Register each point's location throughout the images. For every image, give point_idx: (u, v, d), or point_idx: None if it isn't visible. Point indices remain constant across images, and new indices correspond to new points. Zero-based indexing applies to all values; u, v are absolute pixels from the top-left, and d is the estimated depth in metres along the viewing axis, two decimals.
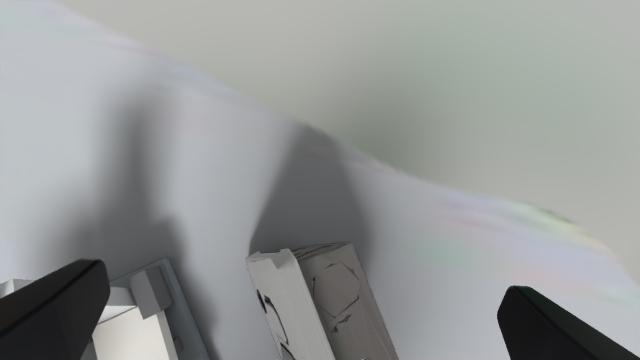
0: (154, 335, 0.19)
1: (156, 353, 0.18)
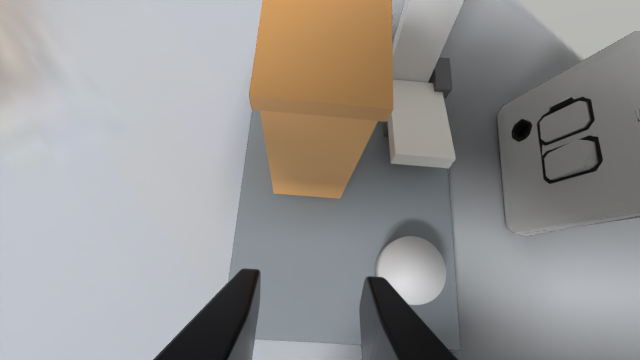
0: (438, 103, 0.22)
1: (438, 113, 0.21)
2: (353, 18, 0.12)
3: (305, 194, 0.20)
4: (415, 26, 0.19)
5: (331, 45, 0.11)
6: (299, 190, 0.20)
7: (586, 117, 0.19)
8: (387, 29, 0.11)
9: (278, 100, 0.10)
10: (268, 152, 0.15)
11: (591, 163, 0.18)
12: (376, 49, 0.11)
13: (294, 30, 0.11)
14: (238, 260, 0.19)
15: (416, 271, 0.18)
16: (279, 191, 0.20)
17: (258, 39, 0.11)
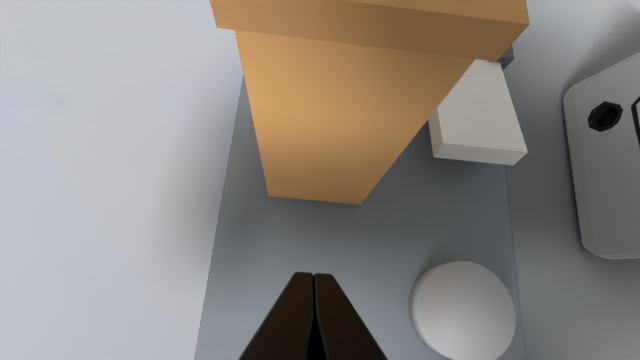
0: (496, 77, 0.16)
1: (496, 90, 0.15)
2: None
3: (312, 198, 0.15)
4: None
5: None
6: (305, 191, 0.14)
7: None
8: None
9: None
10: (258, 131, 0.09)
11: None
12: None
13: None
14: (216, 290, 0.14)
15: (473, 313, 0.13)
16: (277, 193, 0.14)
17: None
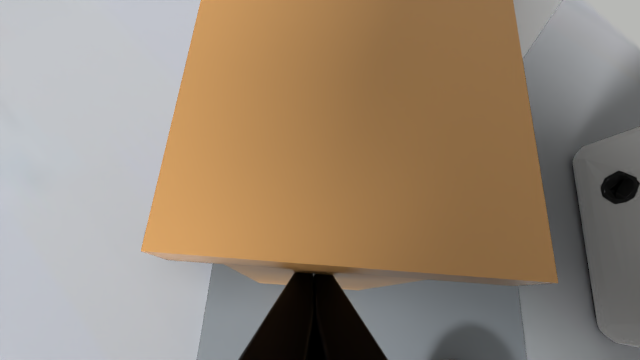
0: None
1: None
2: (426, 24, 0.05)
3: None
4: None
5: (376, 93, 0.04)
6: None
7: None
8: (510, 53, 0.05)
9: None
10: (238, 270, 0.08)
11: None
12: (490, 103, 0.04)
13: (281, 53, 0.04)
14: None
15: None
16: (268, 283, 0.13)
17: (186, 77, 0.04)
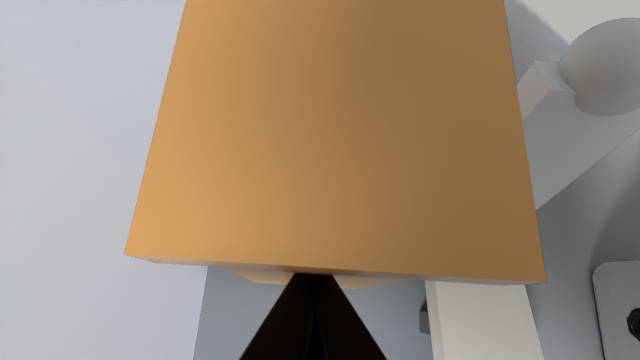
0: (516, 292, 0.13)
1: (518, 317, 0.12)
2: (415, 22, 0.05)
3: None
4: None
5: (363, 92, 0.04)
6: None
7: None
8: (499, 49, 0.05)
9: (216, 258, 0.04)
10: (231, 271, 0.08)
11: None
12: (478, 102, 0.04)
13: (268, 53, 0.04)
14: None
15: None
16: (264, 282, 0.13)
17: (170, 78, 0.04)
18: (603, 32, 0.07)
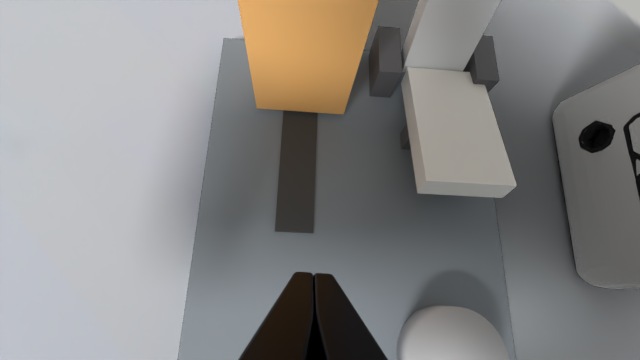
0: (481, 101, 0.15)
1: (482, 116, 0.15)
2: None
3: (298, 108, 0.16)
4: None
5: None
6: (290, 97, 0.15)
7: None
8: None
9: None
10: None
11: None
12: None
13: None
14: (190, 349, 0.13)
15: None
16: (264, 103, 0.15)
17: None
18: None
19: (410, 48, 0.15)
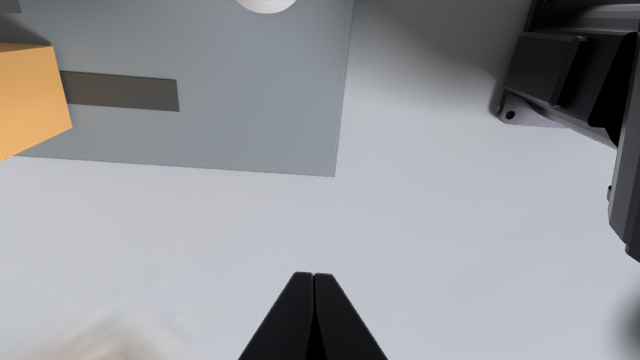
0: None
1: None
2: None
3: (60, 92, 0.17)
4: None
5: None
6: (49, 103, 0.16)
7: None
8: None
9: None
10: None
11: None
12: None
13: None
14: (265, 165, 0.19)
15: None
16: (64, 122, 0.17)
17: None
18: None
19: None
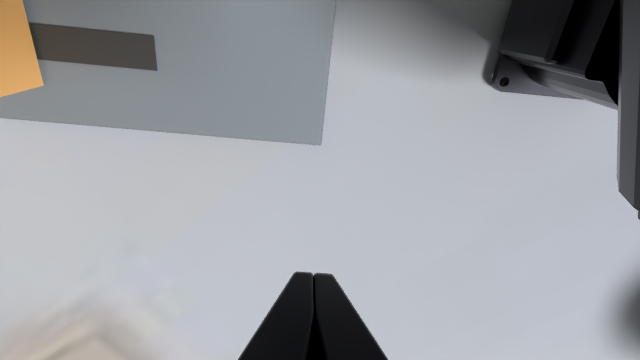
0: None
1: None
2: None
3: (29, 45, 0.16)
4: None
5: None
6: (17, 55, 0.15)
7: None
8: None
9: None
10: None
11: None
12: None
13: None
14: (248, 132, 0.19)
15: None
16: (34, 79, 0.16)
17: None
18: None
19: None
